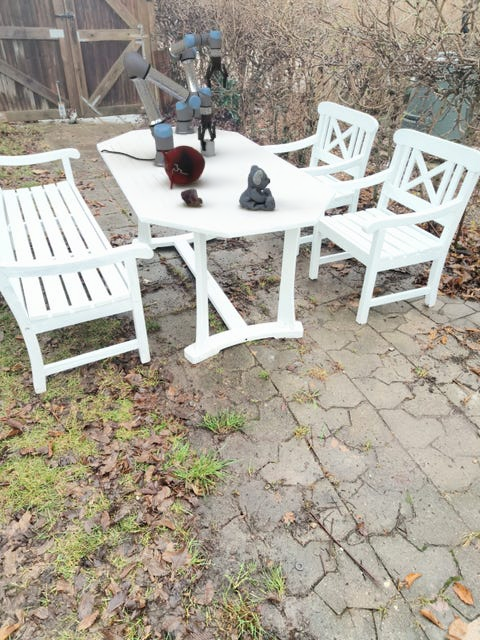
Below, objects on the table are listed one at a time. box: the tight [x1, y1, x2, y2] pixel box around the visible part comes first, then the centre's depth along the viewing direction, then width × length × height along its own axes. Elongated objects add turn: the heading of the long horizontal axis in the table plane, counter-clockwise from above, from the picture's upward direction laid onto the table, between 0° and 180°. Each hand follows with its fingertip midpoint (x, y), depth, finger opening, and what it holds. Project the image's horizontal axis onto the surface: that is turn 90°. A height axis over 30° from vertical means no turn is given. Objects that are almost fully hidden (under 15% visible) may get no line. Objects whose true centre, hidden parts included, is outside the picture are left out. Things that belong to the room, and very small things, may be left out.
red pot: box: [161, 145, 206, 190], centre depth 256 cm, size 21×24×25 cm
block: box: [199, 138, 216, 158], centre depth 309 cm, size 6×9×10 cm
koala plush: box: [238, 164, 276, 211], centre depth 224 cm, size 17×18×20 cm
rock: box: [180, 188, 204, 207], centre depth 229 cm, size 12×9×10 cm
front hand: (207, 149), depth 310 cm, fingers closed on block, 6 cm apart
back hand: (217, 89), depth 336 cm, fingers open, 13 cm apart
